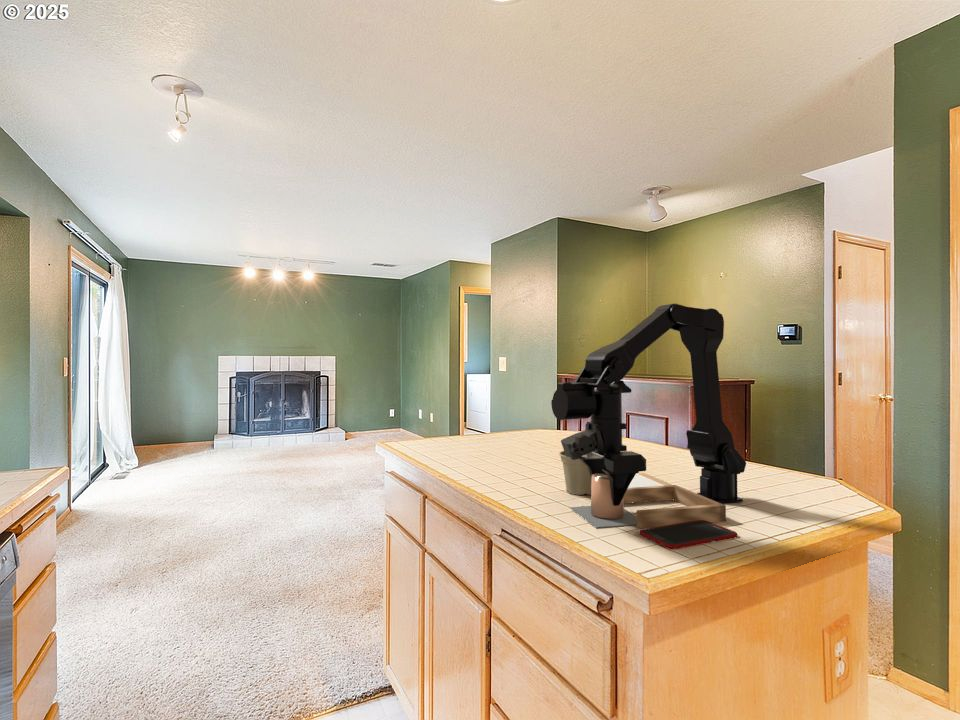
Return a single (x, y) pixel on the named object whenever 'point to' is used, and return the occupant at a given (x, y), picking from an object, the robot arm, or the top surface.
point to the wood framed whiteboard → (646, 481)
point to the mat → (605, 522)
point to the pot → (604, 498)
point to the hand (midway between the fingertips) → (607, 499)
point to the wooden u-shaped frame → (693, 510)
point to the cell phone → (687, 534)
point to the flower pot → (576, 475)
